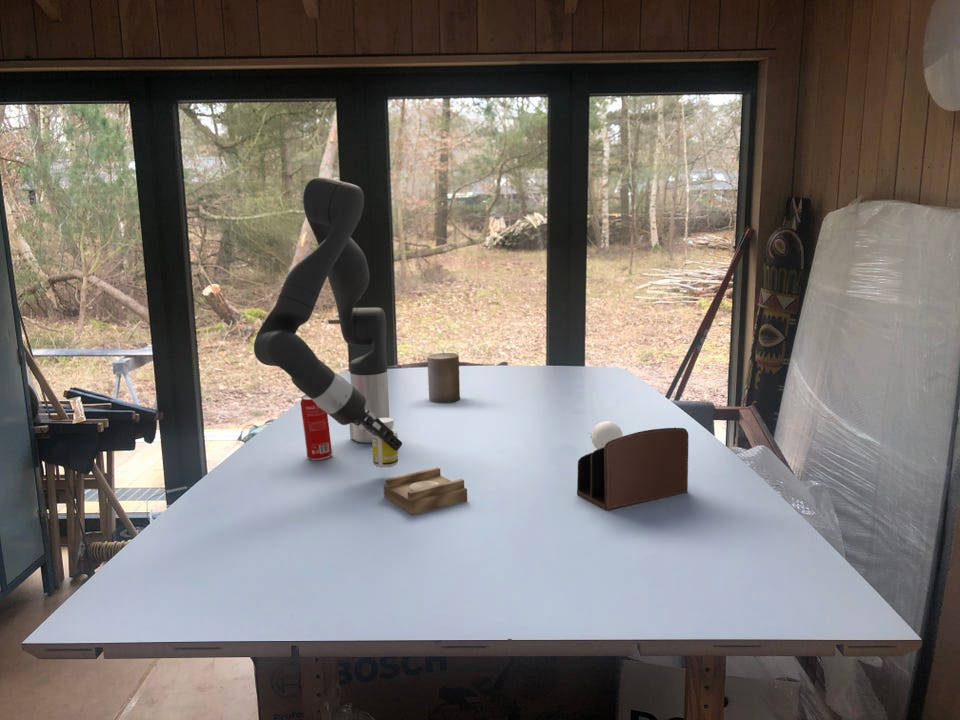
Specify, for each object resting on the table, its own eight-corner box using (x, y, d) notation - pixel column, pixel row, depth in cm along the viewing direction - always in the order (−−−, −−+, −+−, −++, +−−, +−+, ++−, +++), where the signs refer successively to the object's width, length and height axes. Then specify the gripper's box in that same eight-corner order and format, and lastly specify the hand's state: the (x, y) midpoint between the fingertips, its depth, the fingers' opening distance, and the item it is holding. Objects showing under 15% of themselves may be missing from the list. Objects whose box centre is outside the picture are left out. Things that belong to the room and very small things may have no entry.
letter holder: (688, 493, 150) (690, 424, 148) (606, 512, 141) (606, 439, 139) (655, 478, 159) (657, 413, 156) (576, 495, 150) (576, 426, 148)
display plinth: (413, 515, 142) (412, 495, 141) (384, 496, 151) (383, 477, 151) (467, 501, 148) (466, 481, 147) (435, 484, 158) (435, 465, 157)
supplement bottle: (402, 461, 164) (401, 417, 162) (391, 469, 159) (389, 424, 157) (380, 458, 166) (378, 415, 164) (368, 466, 161) (366, 422, 159)
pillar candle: (466, 397, 234) (465, 349, 232) (448, 404, 226) (446, 355, 224) (440, 394, 240) (439, 347, 237) (422, 401, 231) (420, 352, 229)
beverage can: (336, 454, 180) (333, 392, 177) (320, 462, 174) (316, 399, 171) (316, 452, 182) (312, 391, 180) (299, 459, 177) (294, 397, 174)
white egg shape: (629, 451, 177) (629, 420, 176) (611, 459, 172) (611, 427, 170) (593, 443, 184) (593, 414, 183) (575, 450, 179) (575, 420, 177)
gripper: (364, 389, 149) (419, 437, 158) (334, 377, 161) (387, 422, 170) (340, 420, 147) (397, 466, 156) (312, 405, 159) (367, 449, 168)
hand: (392, 443), depth 163 cm, fingers closed on supplement bottle, 5 cm apart
